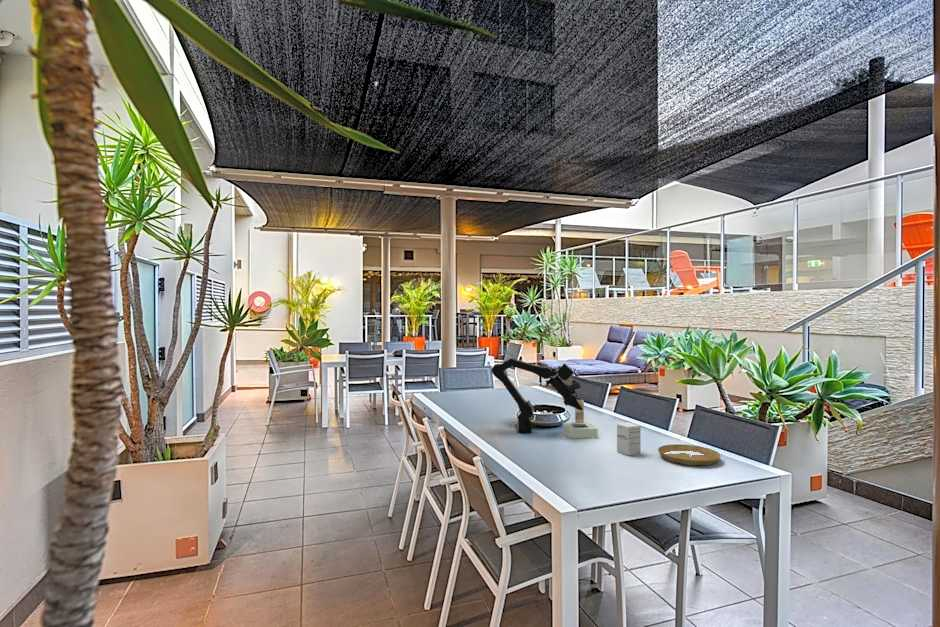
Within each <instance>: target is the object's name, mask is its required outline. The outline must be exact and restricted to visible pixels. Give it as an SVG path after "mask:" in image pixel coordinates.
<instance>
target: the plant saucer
mask: <svg viewBox="0 0 940 627" xmlns="http://www.w3.org/2000/svg"><path fill="white" fill-rule="evenodd" d="M657 450H658V453H659V454H660V456H662V457H663V458H664V459H666V460H667V461H669V462H671V461H672V462H671V463H674V462H676V463H675V464H678V463H680V464H679V465H683V464H685V465H684V466H691V465H705V466H710V464H711V465H713V464H714V463H716V462H718V461H719V460H720V458H721V456H722V455H721V453H720V452H719V451H717V450H714V449H711V448H709V447H708V448H707V447H704V446H699V445H691V444H681V443H679V444H677V443H676V444H675V443H674V444H667V445H662V446H659V447H658V448H657ZM670 451H693V452H699V453H701V454H704V455H692V456H691V455H690V454H686V453H680V454H679V453H678V454H671V453H670V454H664V453H666V452H670ZM689 455H690V456H691V457H690V456H689Z"/></svg>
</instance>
